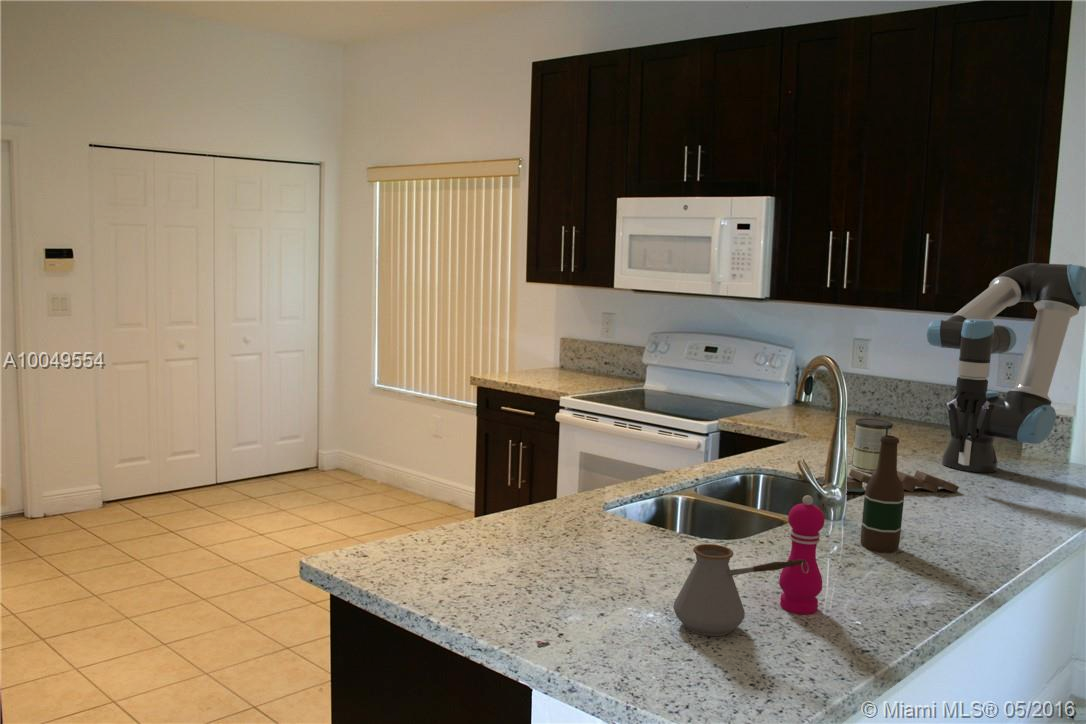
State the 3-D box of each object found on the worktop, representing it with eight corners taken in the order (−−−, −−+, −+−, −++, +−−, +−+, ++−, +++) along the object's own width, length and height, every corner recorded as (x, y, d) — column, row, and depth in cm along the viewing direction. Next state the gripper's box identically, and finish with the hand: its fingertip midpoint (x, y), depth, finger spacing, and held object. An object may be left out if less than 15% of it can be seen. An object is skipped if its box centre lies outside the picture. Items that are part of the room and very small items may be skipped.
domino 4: (905, 480, 246) (873, 470, 244) (915, 485, 241) (883, 474, 239) (902, 487, 246) (871, 476, 244) (913, 492, 241) (880, 481, 239)
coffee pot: (659, 627, 147) (665, 537, 145) (692, 606, 156) (698, 522, 155) (785, 668, 135) (794, 570, 133) (813, 643, 144) (821, 551, 142)
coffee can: (847, 463, 271) (851, 417, 269) (883, 466, 270) (887, 419, 268) (855, 472, 261) (860, 423, 259) (892, 474, 260) (897, 426, 258)
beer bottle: (898, 544, 196) (909, 435, 193) (899, 555, 189) (910, 442, 186) (859, 539, 198) (870, 431, 195) (859, 549, 191) (870, 437, 188)
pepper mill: (771, 599, 162) (780, 489, 159) (810, 599, 162) (820, 490, 160) (785, 615, 154) (795, 501, 152) (826, 616, 155) (837, 502, 152)
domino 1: (853, 476, 243) (818, 476, 242) (862, 481, 238) (826, 481, 237) (853, 483, 243) (817, 483, 242) (862, 488, 238) (825, 488, 237)
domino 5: (928, 481, 247) (896, 470, 245) (938, 486, 242) (905, 475, 240) (926, 487, 247) (893, 476, 245) (936, 492, 242) (902, 481, 240)
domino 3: (855, 482, 244) (819, 482, 243) (864, 487, 239) (827, 487, 238) (855, 489, 244) (819, 488, 243) (863, 494, 239) (826, 493, 238)
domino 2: (879, 479, 245) (851, 469, 241) (892, 485, 240) (863, 474, 236) (877, 485, 245) (848, 475, 241) (889, 491, 240) (860, 481, 237)
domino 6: (948, 481, 247) (916, 470, 246) (959, 486, 242) (926, 474, 241) (946, 488, 247) (914, 476, 246) (956, 493, 242) (923, 480, 241)
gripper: (987, 375, 246) (978, 461, 249) (941, 374, 245) (933, 460, 248) (1004, 380, 239) (994, 467, 242) (957, 379, 237) (948, 467, 240)
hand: (963, 464), depth 245 cm, fingers closed
